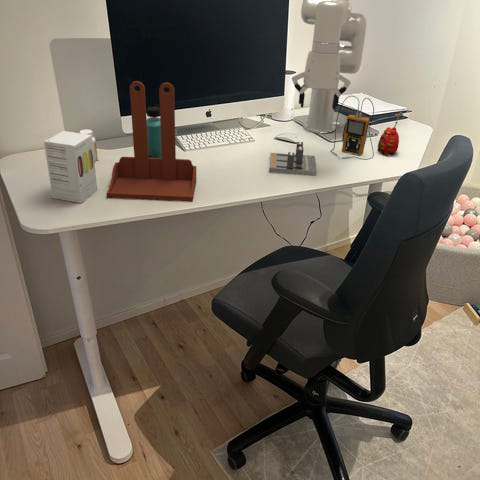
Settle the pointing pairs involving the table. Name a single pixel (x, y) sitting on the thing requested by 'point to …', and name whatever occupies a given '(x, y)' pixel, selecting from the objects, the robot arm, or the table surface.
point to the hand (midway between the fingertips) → (317, 107)
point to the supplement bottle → (92, 142)
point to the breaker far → (299, 145)
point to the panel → (305, 168)
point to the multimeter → (355, 133)
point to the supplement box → (71, 166)
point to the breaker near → (290, 160)
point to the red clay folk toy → (389, 141)
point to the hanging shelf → (153, 169)
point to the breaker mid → (299, 155)
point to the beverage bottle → (154, 133)
